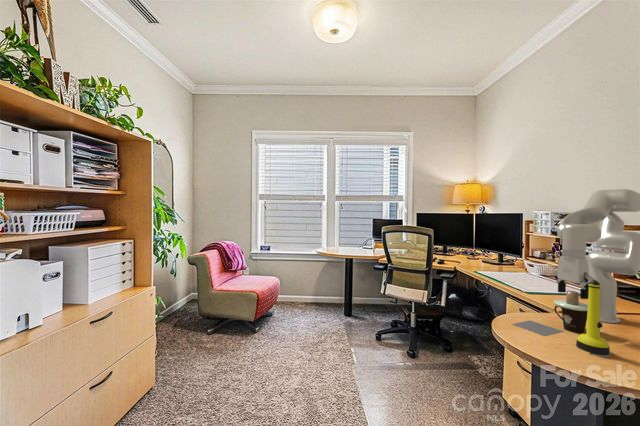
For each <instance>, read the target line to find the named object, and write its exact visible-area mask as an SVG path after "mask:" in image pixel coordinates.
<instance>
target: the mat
mask: <svg viewBox="0 0 640 426" xmlns="http://www.w3.org/2000/svg"><path fill="white" fill-rule="evenodd" d="M511 325H512V326H514V327H517V328H520V329H523V330H526V331H528V332H532V333H535V334H538V335H540V336H542V337H547V336H551V335H556V334H559V333H564V332H565V331H564V330H561V329H559V328H555V327H552V326H548V325H545V324H542V323H539V322H536V321H534V320H525V321H521V322H516V323H515V322H514V323H512V324H511Z"/></svg>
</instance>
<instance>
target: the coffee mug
mask: <svg viewBox="0 0 640 426" xmlns="http://www.w3.org/2000/svg"><path fill="white" fill-rule="evenodd" d="M557 308H560V309H561V315H560V314H559V312H558V311H557ZM554 312H555V314H556V315H557V316H558V318H560V319H561V320H562V323H563V330H565V331H567V332H569V333H575V334H579V335H580V334H585V331H586V328H587V313H588V311H578V310H572V309H567V308H563V307H560V306H557V305H554Z"/></svg>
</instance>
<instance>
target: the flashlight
mask: <svg viewBox="0 0 640 426" xmlns="http://www.w3.org/2000/svg"><path fill="white" fill-rule="evenodd" d="M588 283H589V282H588ZM588 285H589V295H588V299H587V305H588V313H587V322H586V329H585V331H586V333H583V334H580V333H579V335H578V337H577V338H576V344H575V346H576V347H577V348H578V349H580V350H582V351H584V352H587V353H588V355H592V356H596V357H602V358H603V357H604V358H606V357H610V356H611V351H610V345H609V342H608V341H607V339H605V338H603V337H601V334H600V333H601V329H602V328H603V326H604V325H603V322H601V321H600V287H601V285H600V284H599V282H597V281H596V280H592V281H591V282H590V283H589V284H588Z"/></svg>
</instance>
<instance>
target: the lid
mask: <svg viewBox="0 0 640 426" xmlns="http://www.w3.org/2000/svg"><path fill="white" fill-rule="evenodd" d="M565 293H566V294H565V295H566V296H565V298H566V299H554V300H553V304H554V306H560V307H563V308H567V309H572V310H578V311H588V303H584V302H580V291H579V292H578V291H575V290H566V292H565ZM560 307H559V308H560Z"/></svg>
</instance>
